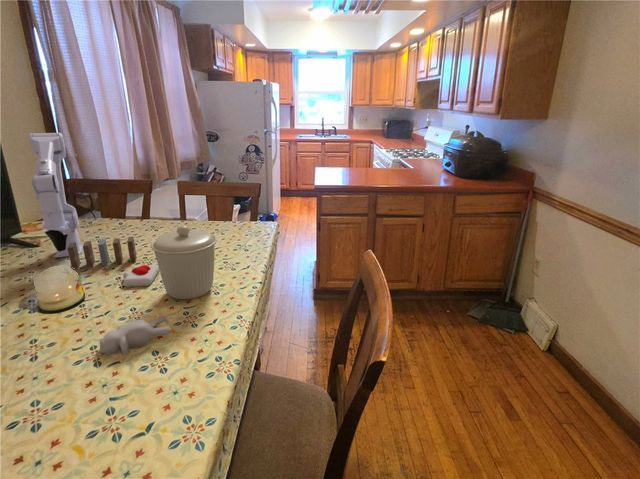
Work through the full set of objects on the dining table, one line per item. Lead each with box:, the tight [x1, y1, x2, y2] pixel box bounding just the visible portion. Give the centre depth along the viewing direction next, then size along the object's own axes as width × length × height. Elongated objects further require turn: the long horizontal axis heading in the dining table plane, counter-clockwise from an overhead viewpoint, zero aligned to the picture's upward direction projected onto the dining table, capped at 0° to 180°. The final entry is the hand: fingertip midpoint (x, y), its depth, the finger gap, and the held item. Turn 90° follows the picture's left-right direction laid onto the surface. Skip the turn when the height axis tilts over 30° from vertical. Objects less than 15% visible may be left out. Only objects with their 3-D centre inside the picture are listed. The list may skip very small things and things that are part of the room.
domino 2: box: [82, 240, 96, 269], centre depth 132 cm, size 2×5×8 cm, turn 21°
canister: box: [150, 224, 218, 301], centre depth 112 cm, size 18×18×21 cm
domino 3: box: [112, 237, 124, 265], centre depth 135 cm, size 2×5×8 cm, turn 21°
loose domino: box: [97, 239, 110, 267], centre depth 133 cm, size 2×5×8 cm, turn 20°
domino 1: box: [67, 242, 81, 270], centre depth 130 cm, size 2×5×8 cm, turn 21°
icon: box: [122, 264, 160, 288], centre depth 123 cm, size 12×4×10 cm
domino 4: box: [126, 236, 137, 264], centre depth 136 cm, size 2×5×8 cm, turn 20°
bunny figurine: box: [99, 315, 172, 356], centre depth 91 cm, size 10×5×15 cm
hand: (61, 250), depth 128 cm, fingers closed
